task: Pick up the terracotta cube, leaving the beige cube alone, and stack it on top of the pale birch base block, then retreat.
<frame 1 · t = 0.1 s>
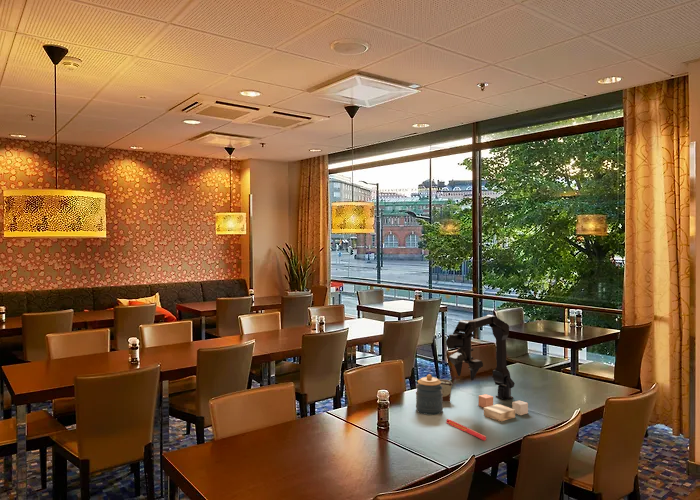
hand: (465, 378, 256), 14 cm above the table, fingers open, 9 cm apart
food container: (440, 400, 269), on the table
chopstick: (466, 432, 226), on the table
beige cube: (520, 413, 248), on the table
birch base block: (499, 417, 244), on the table
terracotta cube: (485, 406, 259), on the table
canister: (429, 411, 252), on the table
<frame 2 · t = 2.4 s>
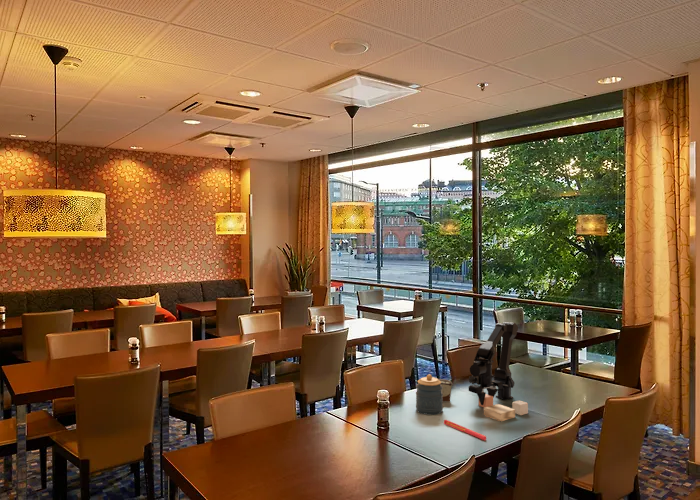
hand: (485, 403, 259), 1 cm above the table, fingers closed on terracotta cube, 5 cm apart
terracotta cube: (485, 405, 259), on the table, touching gripper
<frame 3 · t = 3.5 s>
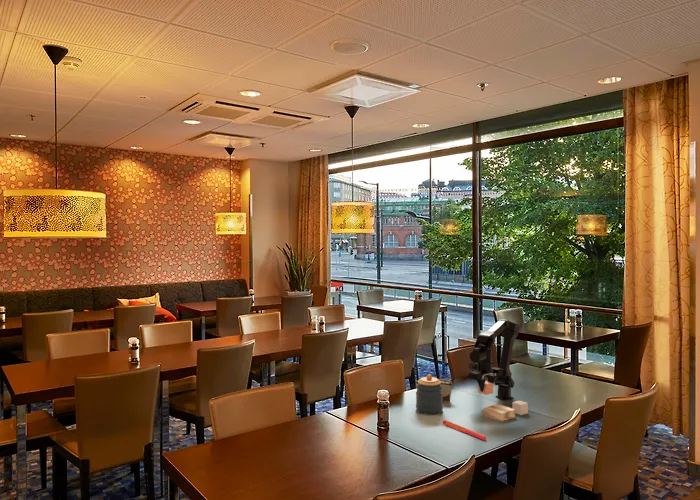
hand: (485, 390, 258), 8 cm above the table, fingers closed on terracotta cube, 5 cm apart
terracotta cube: (485, 392, 258), point 7 cm above the table, touching gripper
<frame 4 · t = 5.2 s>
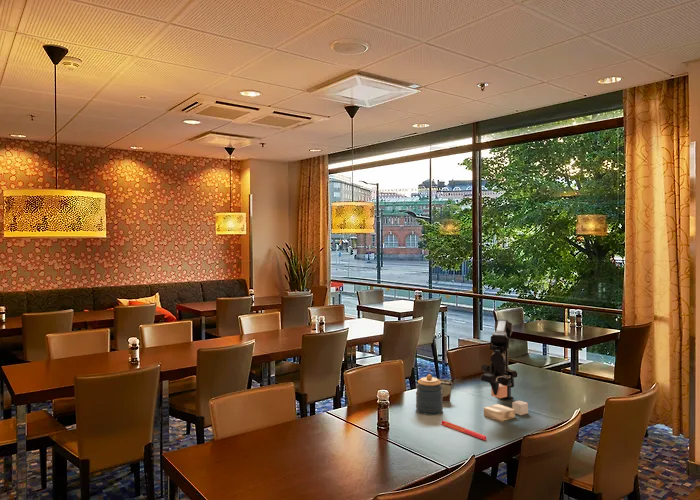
hand: (499, 394, 243), 10 cm above the table, fingers closed on terracotta cube, 5 cm apart
terracotta cube: (499, 396, 244), point 9 cm above the table, touching gripper
when the fingers open (6 cm above the table, at t = 6.3 s): terracotta cube drops 1 cm, point 4 cm above the table.
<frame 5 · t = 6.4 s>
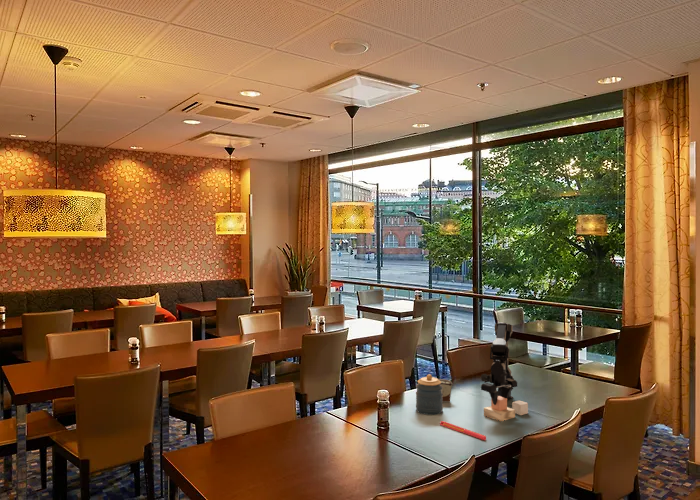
hand: (499, 403, 244), 6 cm above the table, fingers open, 6 cm apart
terracotta cube: (499, 408, 244), point 4 cm above the table
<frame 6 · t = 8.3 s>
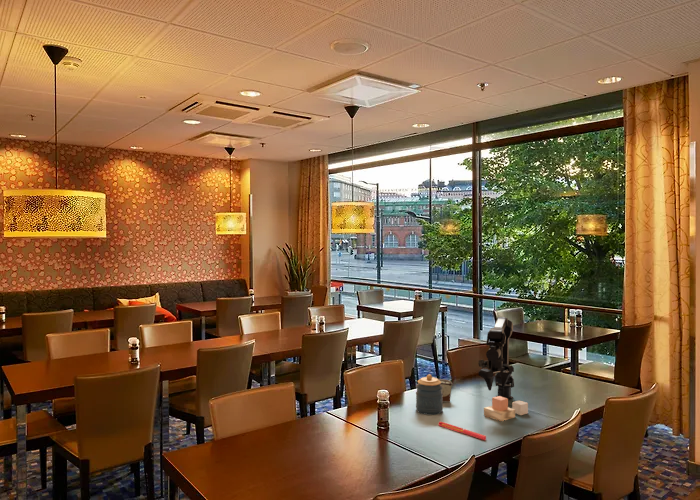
hand: (496, 388, 249), 11 cm above the table, fingers open, 9 cm apart
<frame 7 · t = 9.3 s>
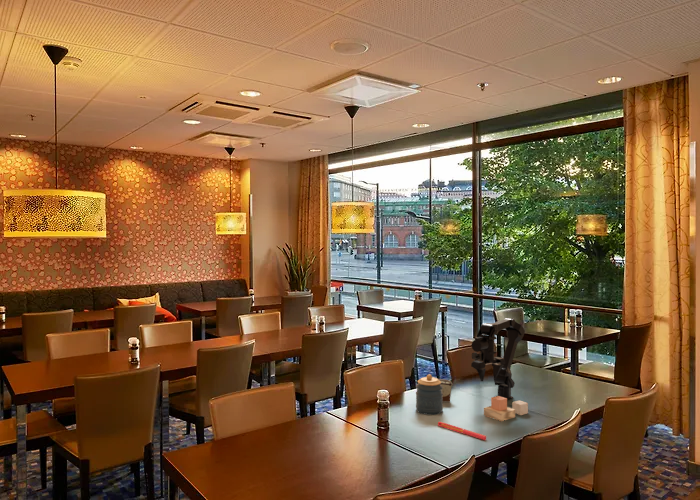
hand: (488, 379, 262), 12 cm above the table, fingers open, 9 cm apart
birch base block: (499, 417, 244), on the table, touching terracotta cube
terracotta cube: (499, 408, 244), point 4 cm above the table, touching birch base block
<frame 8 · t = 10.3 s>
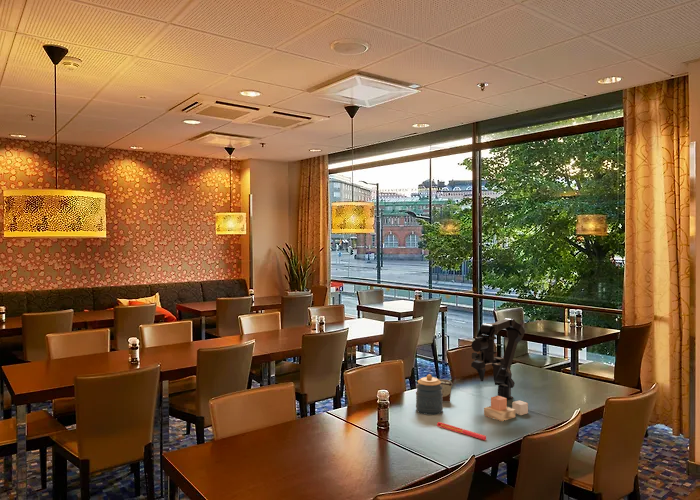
hand: (488, 379, 262), 12 cm above the table, fingers open, 9 cm apart
birch base block: (499, 417, 244), on the table
terracotta cube: (498, 408, 244), point 4 cm above the table
at the end: terracotta cube 0.4 cm off-centre on the birch base block, point 4.0 cm above the birch base block's base; terracotta cube tilted 0°; the gripper is holding nothing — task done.
